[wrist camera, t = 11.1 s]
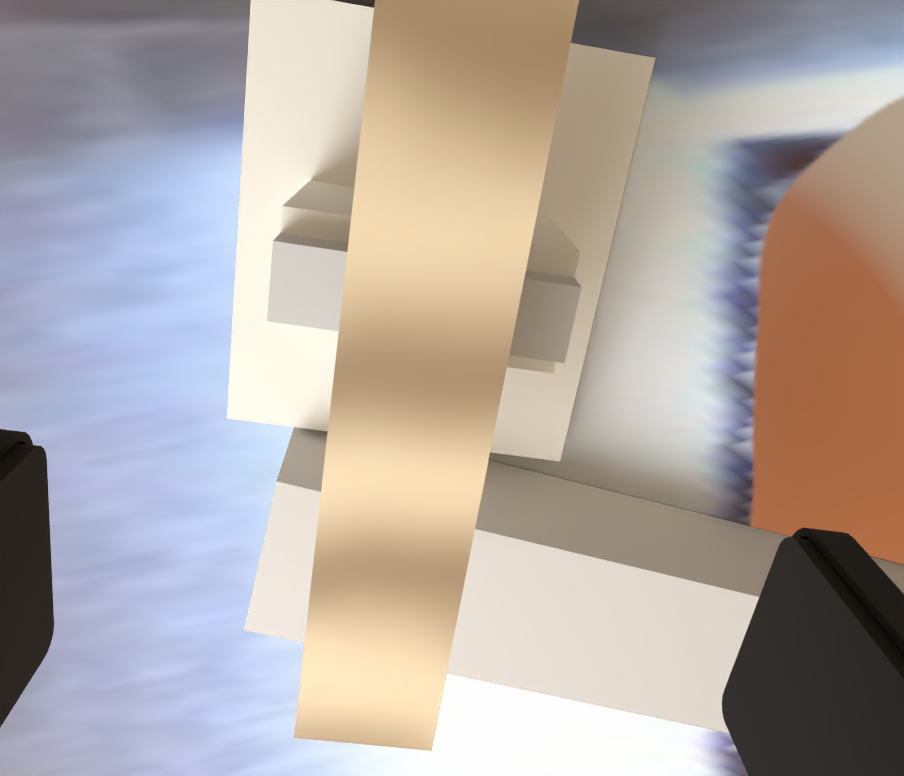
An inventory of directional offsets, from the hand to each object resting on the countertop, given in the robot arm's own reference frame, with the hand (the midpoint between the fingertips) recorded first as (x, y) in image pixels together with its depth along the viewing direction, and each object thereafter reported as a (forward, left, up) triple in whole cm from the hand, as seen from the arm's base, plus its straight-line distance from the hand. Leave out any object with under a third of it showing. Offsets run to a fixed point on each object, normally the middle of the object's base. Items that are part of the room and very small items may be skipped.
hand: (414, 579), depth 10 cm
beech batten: (0, 0, -14) cm, 14 cm away
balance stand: (0, 0, -23) cm, 23 cm away
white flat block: (+16, +12, -24) cm, 31 cm away
